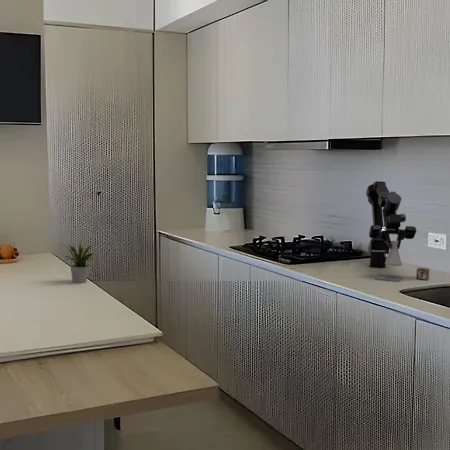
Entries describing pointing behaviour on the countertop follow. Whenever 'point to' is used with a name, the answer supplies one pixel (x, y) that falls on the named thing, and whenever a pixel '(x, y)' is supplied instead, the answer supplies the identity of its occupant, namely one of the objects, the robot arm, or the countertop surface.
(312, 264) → the countertop surface
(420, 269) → the letter cube
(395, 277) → the grey coaster
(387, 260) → the flask
